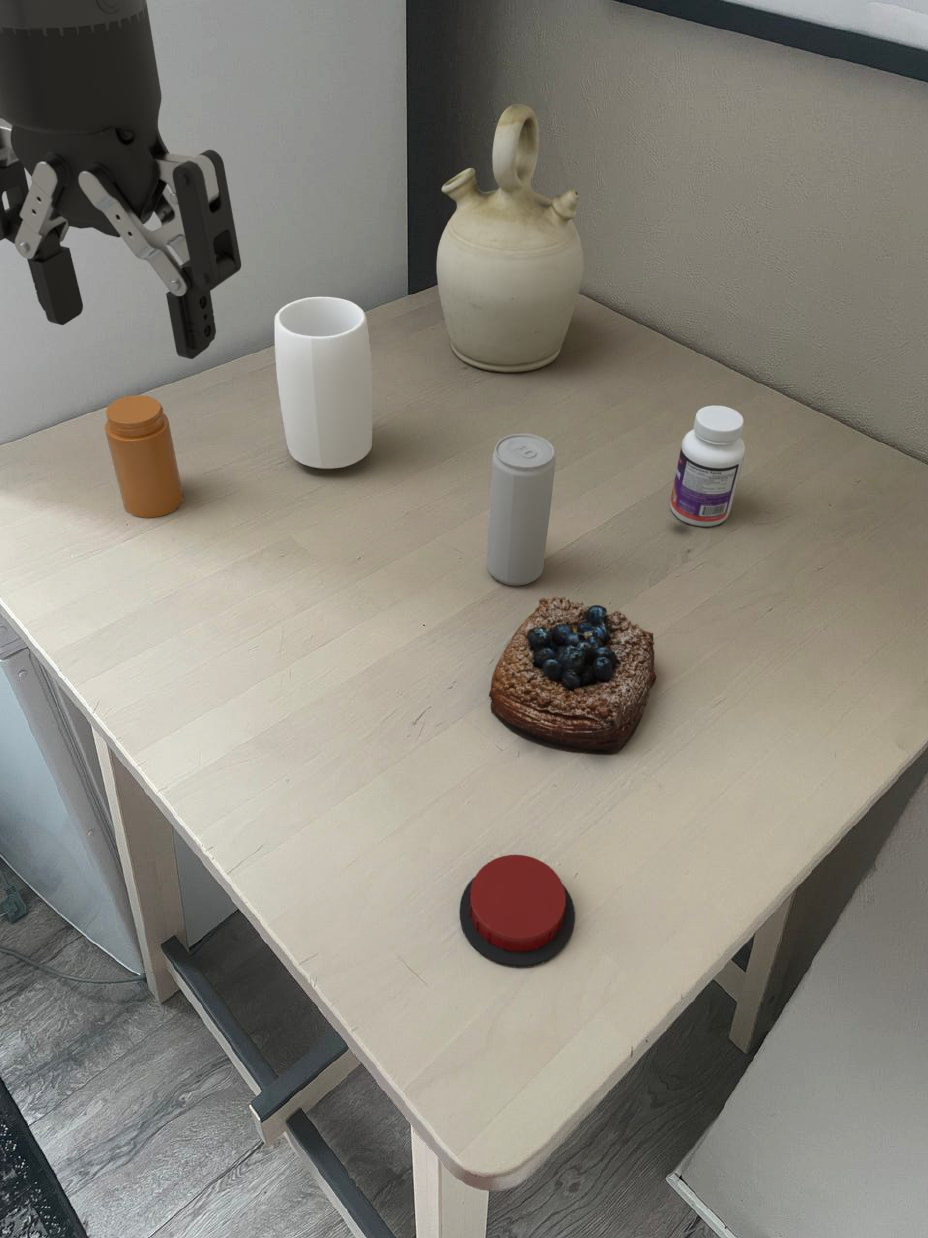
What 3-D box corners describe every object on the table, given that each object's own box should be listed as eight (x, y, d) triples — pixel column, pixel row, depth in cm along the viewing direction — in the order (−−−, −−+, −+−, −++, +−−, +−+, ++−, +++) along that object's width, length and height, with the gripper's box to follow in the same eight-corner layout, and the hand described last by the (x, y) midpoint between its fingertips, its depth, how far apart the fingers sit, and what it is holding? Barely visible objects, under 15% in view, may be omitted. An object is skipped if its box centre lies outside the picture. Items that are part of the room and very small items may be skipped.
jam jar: (175, 519, 90) (156, 427, 83) (116, 516, 90) (92, 424, 83) (189, 484, 94) (172, 393, 87) (132, 481, 94) (111, 390, 87)
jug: (406, 348, 113) (404, 105, 96) (495, 301, 122) (507, 70, 105) (516, 398, 106) (534, 146, 89) (601, 344, 115) (633, 105, 98)
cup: (381, 434, 100) (377, 297, 91) (367, 485, 94) (361, 344, 85) (296, 427, 101) (282, 290, 91) (276, 477, 95) (259, 336, 85)
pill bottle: (682, 485, 96) (701, 393, 89) (737, 504, 94) (761, 412, 87) (659, 515, 92) (678, 422, 86) (716, 535, 90) (739, 442, 84)
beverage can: (517, 544, 89) (526, 425, 80) (555, 573, 86) (569, 453, 78) (474, 566, 86) (479, 446, 78) (512, 597, 84) (522, 475, 75)
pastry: (666, 661, 79) (679, 604, 75) (620, 774, 71) (632, 718, 67) (532, 619, 82) (538, 563, 78) (473, 723, 74) (476, 666, 70)
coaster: (550, 986, 59) (551, 983, 59) (440, 940, 61) (440, 937, 61) (589, 889, 64) (590, 886, 64) (486, 849, 66) (486, 846, 66)
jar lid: (495, 854, 65) (496, 839, 64) (579, 894, 63) (582, 879, 62) (451, 925, 62) (452, 910, 60) (539, 969, 60) (541, 956, 58)
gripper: (242, 0, 46) (277, 333, 57) (-9, -38, 50) (69, 281, 61) (139, 40, 41) (199, 397, 52) (-132, -6, 45) (-22, 336, 56)
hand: (129, 334), depth 56 cm, fingers open, 8 cm apart
